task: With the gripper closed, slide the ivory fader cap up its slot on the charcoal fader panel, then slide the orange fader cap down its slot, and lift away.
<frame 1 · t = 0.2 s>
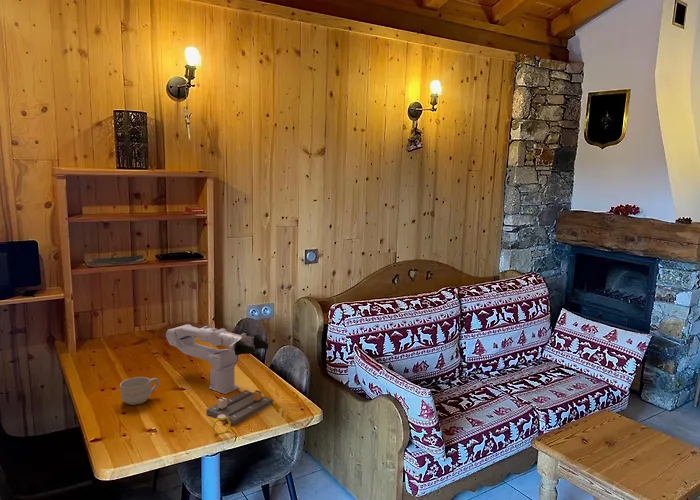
hand: (260, 348, 195), 21 cm above the table, tool horizontal, fingers open, 7 cm apart
watch: (221, 433, 176), on the table
teacup: (140, 401, 197), on the table
fader orange: (257, 395, 195), point 4 cm above the table, slide at 6.0 cm
fader ivory: (222, 402, 188), point 4 cm above the table, slide at -6.0 cm
fader panel: (240, 408, 192), on the table
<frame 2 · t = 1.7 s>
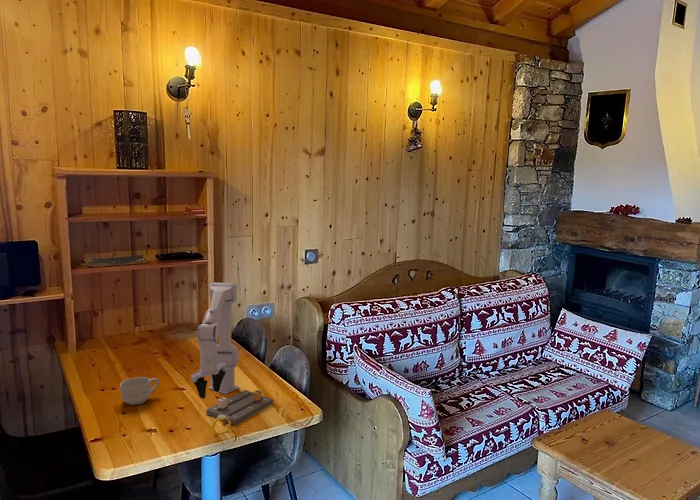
hand: (209, 394, 183), 9 cm above the table, tool pointing down, fingers open, 6 cm apart
nothing on the table moved.
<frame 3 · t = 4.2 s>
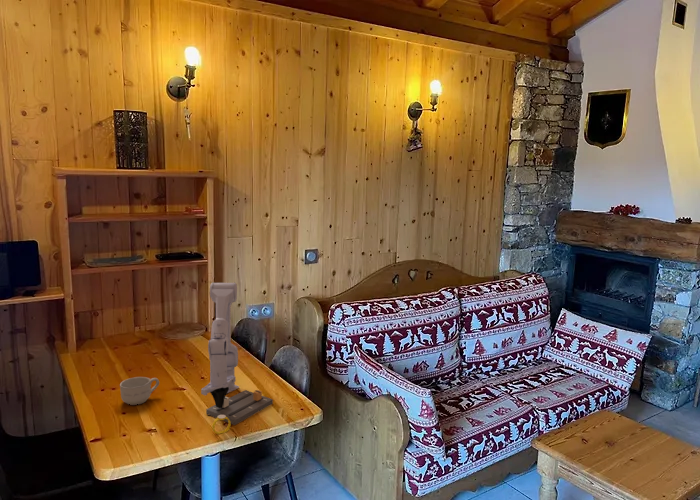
hand: (219, 406, 187), 3 cm above the table, tool pointing down, fingers closed
fader ivory: (224, 401, 189), point 4 cm above the table, slide at -5.0 cm, touching gripper
everything else where it was.
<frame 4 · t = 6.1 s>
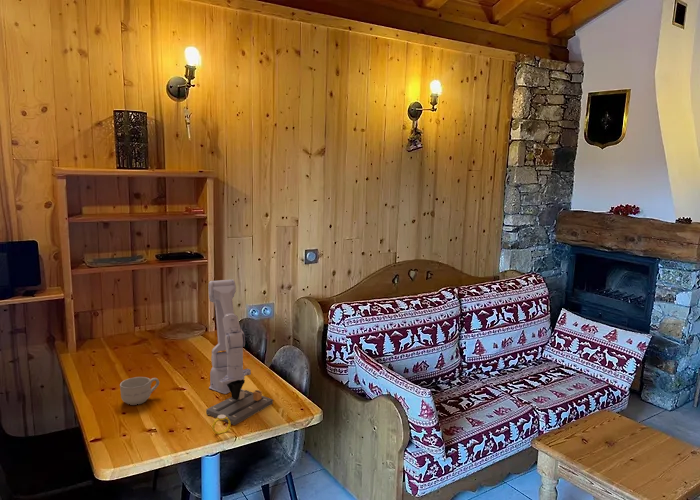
hand: (235, 398, 194), 3 cm above the table, tool pointing down, fingers closed
fader ivory: (240, 393, 196), point 4 cm above the table, slide at 3.0 cm, touching gripper
everything else where it was.
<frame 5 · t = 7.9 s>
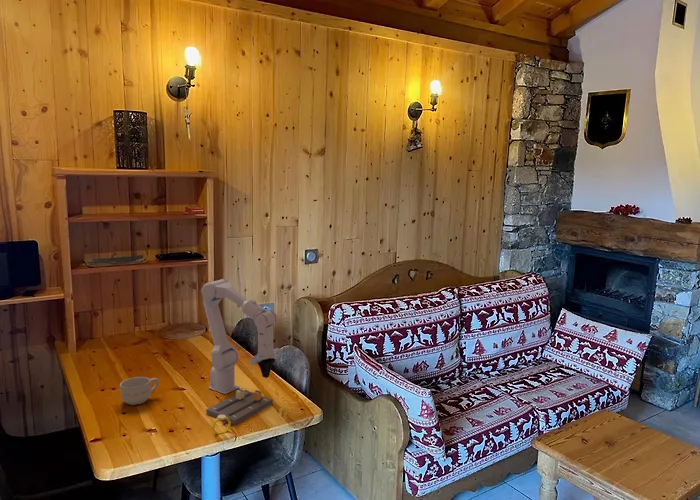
hand: (265, 376, 198), 9 cm above the table, tool pointing down, fingers closed
fader ivory: (240, 393, 196), point 4 cm above the table, slide at 3.0 cm
everything else where it was.
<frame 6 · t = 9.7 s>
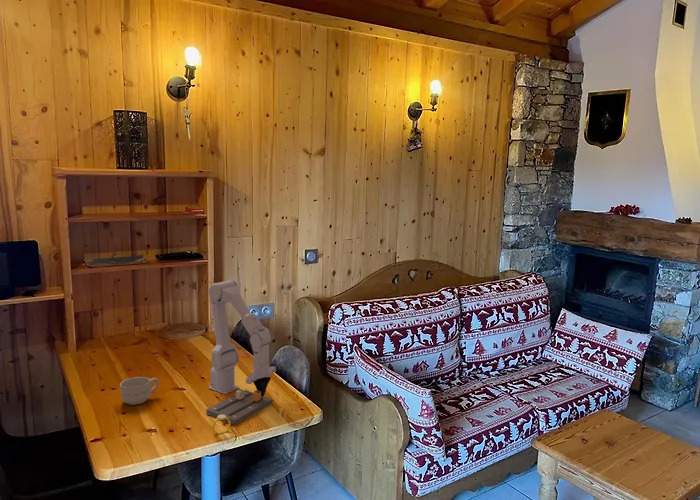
hand: (261, 395, 197), 3 cm above the table, tool pointing down, fingers closed
fader orange: (256, 395, 195), point 4 cm above the table, slide at 5.6 cm, touching gripper
everything else where it was.
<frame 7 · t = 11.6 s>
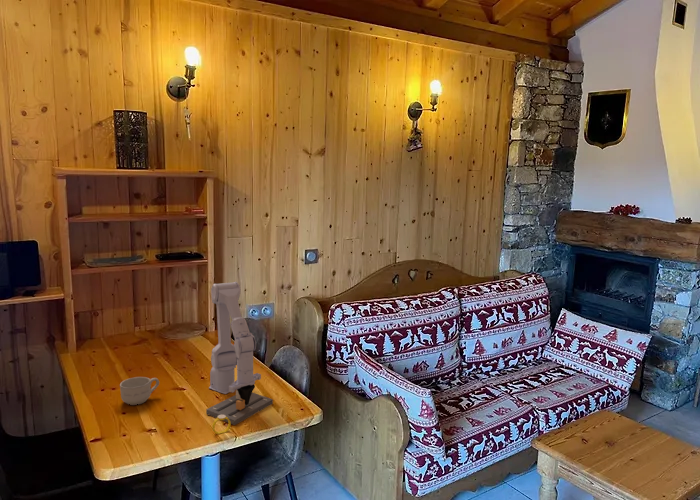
hand: (245, 403, 190), 3 cm above the table, tool pointing down, fingers closed
fader orange: (240, 404, 188), point 4 cm above the table, slide at -3.0 cm, touching gripper
everything else where it was.
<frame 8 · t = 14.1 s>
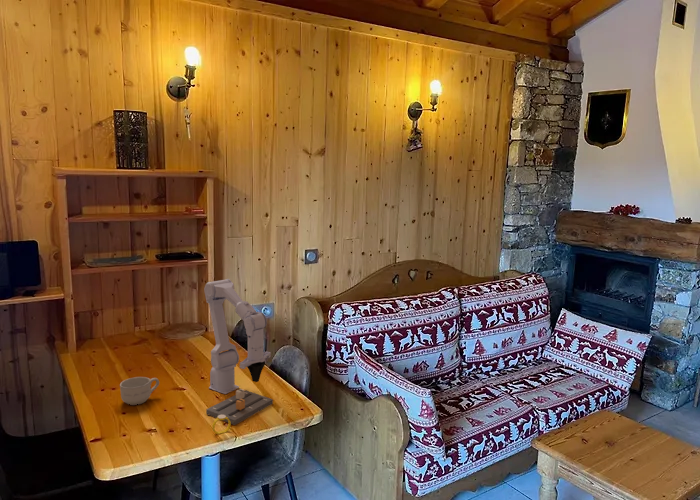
hand: (255, 381, 193), 10 cm above the table, tool pointing down, fingers closed
fader orange: (240, 404, 188), point 4 cm above the table, slide at -3.0 cm
everything else where it was.
at the end: fader ivory slide at 3.0 cm; fader orange slide at -3.0 cm; fader orange touching nothing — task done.
